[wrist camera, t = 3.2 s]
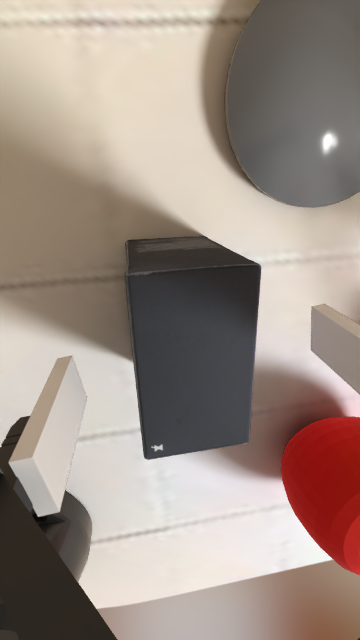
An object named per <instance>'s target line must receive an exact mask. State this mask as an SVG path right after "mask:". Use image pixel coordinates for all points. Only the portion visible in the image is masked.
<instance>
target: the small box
mask: <svg viewBox="0 0 360 640" xmlns="http://www.w3.org/2000/svg"><path fill="white" fill-rule="evenodd" d="M125 246H126V256H127V269H126V272H125V283H126V294H127V303H128V314H129V323H130V331H131V342H132V352H133V360H134V371H135V379H136V389H137V398H138V408H139V416H140V426H141V434H142V443H143V453H144V457H145V459H147V460H150V459H156V458H162V457H168V456H173V455H180V454H186V453H192V452H198V451H205V450H210V449H217V448H224V447H229V446H235V445H240V444H247V443H249V441H250V428H251V411H252V395H253V379H254V362H255V349H256V334H257V320H258V306H259V293H260V279H261V265H260V264H258V263H256V262H254V261H251V260H249V259H247V258H245V257H243V256H241V255H239V254H237V253H235V252H233V251H231V250H229V249H227V248H225V247H224V246H222V245H220V244H218V243H216V242H214V241H212V240H210V239H208V238H207V237H205V236H201V237H178V238H158V239H140V240H128V241H127V242H126V243H125Z"/></svg>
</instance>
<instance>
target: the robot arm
mask: <svg viewBox="0 0 360 640" xmlns="http://www.w3.org/2000/svg"><path fill="white" fill-rule="evenodd" d="M311 351H313V352H314V353H315V354H316V355H317V356H318V357H319V358H320V359H321V360H322V361H323V362H325V363H326V364H327V365H328V366H329V367H330V368H331V369H332V370H333V371H334V372H336V373H337V374H338V375H339V376H340V377H341V378H342V379H343V380H344V381H345V382H347V383H348V384H349V385H350V386H351V387H352V388H353V389H354V390H355V391H356V392H357V393H359V394H360V325H359V324H358V323H356V322H354V321H353V320H351V319H349V318H348V317H346V316H344V315H343V314H341V313H339V312H338V311H336V310H334V309H333V308H331V307H329V306H328V305H326V304H322V305H317V306H312V311H311ZM86 400H87V396H86V393H85V390H84V387H83V384H82V382H81V379H80V376H79V373H78V370H77V368H76V365H75V362H74V359H73V356H67V357H63V358H58V359H57V361H56V363H55V365H54V367H53V369H52V371H51V373H50V376H49V378H48V380H47V382H46V384H45V386H44V388H43V390H42V393H41V395H40V397H39V399H38V401H37V403H36V405H35V407H34V409H33V412H32V414H31V416H26V417H21V418H20V419H19V420H18V421H17V422H16V423H15V424H14V425H13V426H12V427H11V428H10V430H9V432H8V434H7V436H6V439H5V440H4V442H3V443H2V447H0V640H117V639H116V637H115V636H114V634H113V633H112V631H111V630H110V628H109V627H108V626H107V624H106V623H105V621H104V620H103V618H102V617H101V615H100V614H99V612H98V611H97V609H96V608H95V607H94V605H93V604H92V602H91V601H90V599H89V598H88V596H87V595H86V593H85V592H84V591H83V589H82V588H81V586H80V585H79V583H78V581H79V579H80V577H81V574H82V572H83V569H84V567H85V564H86V562H87V559H88V555H89V551H90V543H91V534H92V522H91V519H90V516H89V514H88V512H87V510H86V509H85V507H84V506H83V505H82V504H81V503H80V502H79V501H78V500H77V499H76V498H74V497H73V496H72V495H70V494H69V493H67V492H65V488H66V483H67V479H68V475H69V471H70V467H71V463H72V458H73V454H74V450H75V446H76V442H77V438H78V433H79V429H80V425H81V421H82V417H83V413H84V408H85V404H86ZM358 640H360V638H359V639H358Z"/></svg>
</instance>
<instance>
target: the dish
mask: <svg viewBox="0 0 360 640" xmlns="http://www.w3.org/2000/svg"><path fill="white" fill-rule="evenodd" d="M225 117H226V125H227V132H228V135H229V139H230V143H231V147H232V149H233V152H234V154H235V157H236V159H237V161H238V163H239V165H240V167H241V168H242V170H243V172H244V173H245V174H246V176H247V177H248V178H249V180H250V181H251V182H252V183H253V184H254V185H255V186H256V187H257V188H258V189H259V190H260V191H262V192H263V193H264V194H266V195H267V196H269V197H270V198H272V199H274V200H276V201H278V202H281V203H284V204H287V205H291V206H297V207H322V206H327V205H331V204H335V203H338V202H340V201H343V200H345V199H347V198H349V197H351V196H353V195H354V194H356V193H358V192H359V191H360V0H261V2H260V3H259V5H258V6H257V7H256V9H255V10H254V12H253V13H252V15H251V16H250V18H249V19H248V21H247V23H246V25H245V27H244V29H243V30H242V32H241V34H240V37H239V39H238V41H237V44H236V46H235V49H234V52H233V55H232V59H231V62H230V65H229V70H228V76H227V81H226V91H225Z"/></svg>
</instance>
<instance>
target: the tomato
mask: <svg viewBox="0 0 360 640" xmlns="http://www.w3.org/2000/svg"><path fill="white" fill-rule="evenodd" d="M281 474H282V481H283V484H284V487H285V491H286V494H287V497H288V500H289V503H290V505H291V507H292V509H293V511H294V513H295V515H296V516H297V517H298V519H299V520H300V522H301V523H302V525H303V526H304V527H305V529H306V530H307V532H308V533H309V535H310V536H311V537H312V538H313V539H314V540H315V542H316V543H317V544H318V545H319V546H320V547H321V548H322V549H323V550H324V551H325V552H326V553H327V554H328V555H329V556H330V557H331V558H332V559H334V560H335V561H336V562H337V563H338V564H339V565H341V566H342V567H343V568H344V569H346V570H349V571H351V572H353V573H356V574H358V575H360V418H359V417H331V418H326V419H321V420H318V421H316V422H313V423H311V424H309V425H307V426H306V427H304V428H303V429H301V430H300V431H299V432H297V433H296V434H295V435H294V436H293V437H292V438H291V439H290V440H289V442H288V443H287V445H286V446H285V449H284V452H283V456H282V460H281Z"/></svg>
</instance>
